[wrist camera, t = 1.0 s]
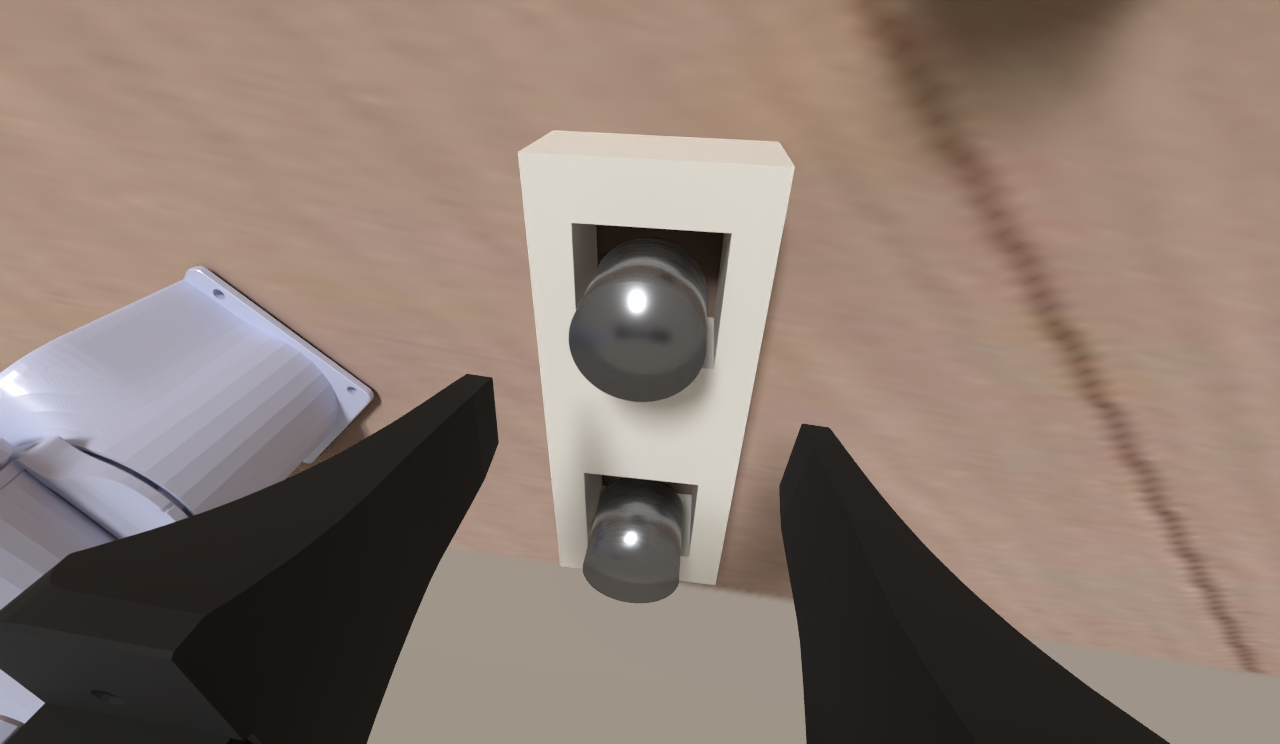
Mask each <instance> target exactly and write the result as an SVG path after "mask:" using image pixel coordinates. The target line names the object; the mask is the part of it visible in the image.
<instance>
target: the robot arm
mask: <svg viewBox="0 0 1280 744" xmlns="http://www.w3.org/2000/svg"><path fill="white" fill-rule="evenodd" d="M354 388H355V389H356V390H355V389H354ZM373 398H374V393H373V392H372V390H371V389H370V388H369V387H367V386H366V385H364V384H363V383H362V382H360V381H359V380H358V379H356V378H355V377H354V376H352V375H351V374H349V373H348V372H347V371H345V370H344V369H343V368H341V367H340V366H339V365H337V364H336V363H335V362H333V361H332V360H330V359H329V358H328V357H326V356H325V355H324V354H322V353H321V352H320V351H318V350H317V349H315V348H314V347H313V346H311V345H310V344H309V343H307V342H306V341H305V340H303V339H302V338H300V337H299V336H298V335H296V334H295V333H294V332H292V331H291V330H290V329H288V328H287V327H286V326H284V325H283V324H281V323H280V322H279V321H277V320H276V319H275V318H273V317H272V316H271V315H269V314H268V313H266V312H265V311H264V310H262V309H261V308H260V307H258V306H257V305H256V304H254V303H253V302H252V301H250V300H249V299H247V298H246V297H245V296H243V295H242V294H241V293H239V292H238V291H237V290H235V289H234V288H232V287H231V286H230V285H228V284H227V283H226V282H224V281H223V280H222V279H220V278H219V277H217V276H216V275H215V274H213V273H212V272H211V271H209V270H208V269H206V268H204V267H202V266H195V267H193V268H190V269H189V270H188V271H187V273H186V275H185V277H184V279H183V280H181V281H178V282H176V283H174V284H172V285H170V286H168V287H166V288H163V289H161V290H159V291H157V292H155V293H153V294H150V295H148V296H146V297H144V298H142V299H140V300H138V301H135V302H133V303H131V304H129V305H127V306H125V307H122V308H120V309H118V310H116V311H114V312H112V313H110V314H107V315H105V316H103V317H101V318H99V319H97V320H95V321H92V322H90V323H88V324H86V325H84V326H82V327H79V328H77V329H75V330H73V331H71V332H69V333H67V334H64V335H62V336H60V337H58V338H56V339H54V340H52V341H50V342H48V343H46V344H44V345H43V346H41V347H39V348H37V349H36V350H34V351H32V352H30V353H29V354H27V355H26V356H24V357H23V358H21V359H19V360H18V361H16V362H15V363H14V364H12V365H11V366H9V367H8V368H6V369H5V370H4V371H2V372H1V373H0V744H367V741H368V738H369V735H370V732H371V729H372V727H373V724H374V721H375V718H376V715H377V713H378V710H379V707H380V705H381V702H382V699H383V696H384V694H385V691H386V688H387V686H388V683H389V680H390V678H391V675H392V672H393V670H394V667H395V664H396V662H397V660H398V657H399V654H400V652H401V650H402V647H403V644H404V642H405V640H406V637H407V634H408V632H409V630H410V627H411V625H412V622H413V620H414V617H415V615H416V612H417V610H418V608H419V606H420V603H421V601H422V599H423V596H424V594H425V592H426V589H427V587H428V585H429V582H430V580H431V578H432V576H433V574H434V572H435V570H436V568H437V566H438V563H439V562H440V559H441V558H442V556H443V554H444V553H445V551H446V549H447V547H448V545H449V544H450V542H451V540H452V538H453V536H454V534H455V533H456V531H457V529H458V527H459V525H460V524H461V522H462V520H463V518H464V516H465V515H466V513H467V511H468V509H469V507H470V505H471V504H472V502H473V500H474V498H475V496H476V494H477V492H478V491H479V489H480V487H481V485H482V483H483V481H484V479H485V477H486V474H487V472H488V469H489V467H490V464H491V462H492V459H493V456H494V454H495V451H496V448H497V446H498V443H499V442H498V432H497V421H496V411H495V400H494V390H493V379H492V378H491V377H484V376H478V375H471V374H466V375H465V376H463V377H461V378H460V379H458V380H457V381H455V382H454V383H452V384H451V385H449V386H448V387H446V388H445V389H443V390H442V391H440V392H439V393H437V394H436V395H434V396H433V397H431V398H430V399H428V400H427V401H425V402H424V403H422V404H421V405H419V406H418V407H416V408H414V409H413V410H411V411H410V412H408V413H407V414H405V415H404V416H402V417H401V418H399V419H398V420H396V421H394V422H393V423H391V424H389V425H388V426H386V427H384V428H383V429H381V430H379V431H377V432H376V433H374V434H372V435H371V436H369V437H367V438H366V439H364V440H362V441H361V442H359V443H357V444H355V445H354V446H352V447H350V448H348V449H346V450H345V451H343V452H341V453H339V454H337V455H335V456H333V457H331V458H329V459H327V460H325V461H323V462H321V463H319V464H317V465H315V466H313V467H311V468H309V469H307V470H305V471H303V472H301V473H299V474H296V475H294V476H292V477H290V478H287V477H288V476H289V475H290V474H291V473H292V472H293V471H294V470H295V469H296V468H297V467H298V465H299V464H300V463H301V462H304V463H312V462H313V461H314V460H315V459H316V458H317V457H318V456H319V455H320V454H321V453H322V452H323V451H324V450H325V448H326V447H327V446H328V445H329V444H330V443H331V442H332V441H333V440H334V439H335V438H336V437H337V436H338V435H339V434H340V433H341V432H342V431H343V430H344V429H345V428H346V427H347V426H348V425H349V424H350V422H351V421H352V420H353V419H354V418H355V417H356V416H357V415H358V414H359V413H360V412H361V411H362V410H363V409H364V408H365V407H366V406H367V405H368V404H369V403H370V402H371V401H372V399H373ZM286 478H287V479H286ZM779 488H780V515H781V529H782V536H783V542H784V548H785V553H786V559H787V565H788V571H789V576H790V582H791V588H792V593H793V599H794V605H795V611H796V616H797V622H798V630H799V637H800V647H801V660H802V672H803V686H804V704H805V720H806V721H805V722H806V740H807V744H1170V743H1169V742H1167V741H1165V740H1164V739H1163V738H1161V737H1160V736H1158V735H1157V734H1156V733H1154V732H1153V731H1151V730H1150V729H1149V728H1147V727H1145V726H1144V725H1143V724H1141V723H1140V722H1139V721H1137V720H1136V719H1134V718H1133V717H1131V716H1130V715H1129V714H1127V713H1126V712H1124V711H1123V710H1121V709H1120V708H1119V707H1117V706H1115V705H1114V704H1113V703H1111V702H1110V701H1109V700H1107V699H1105V698H1104V697H1103V696H1101V695H1100V694H1098V693H1097V692H1096V691H1094V690H1093V689H1091V688H1090V687H1089V686H1087V685H1086V684H1085V683H1083V682H1082V681H1081V680H1079V679H1078V678H1077V677H1075V676H1074V675H1073V674H1072V673H1070V672H1069V671H1068V670H1066V669H1065V668H1064V667H1062V666H1061V665H1060V664H1058V663H1057V662H1056V661H1055V660H1053V659H1051V657H1049V656H1048V655H1047V654H1045V653H1044V652H1043V651H1042V650H1040V649H1039V648H1038V647H1037V646H1035V645H1034V644H1033V643H1032V642H1030V641H1029V640H1028V639H1027V638H1026V637H1024V636H1023V635H1022V634H1021V633H1019V632H1018V631H1017V630H1016V629H1015V628H1013V627H1012V626H1011V625H1010V624H1009V623H1008V622H1006V621H1005V620H1004V619H1003V618H1002V617H1001V616H999V615H998V614H997V613H996V612H995V611H994V610H992V609H991V608H990V607H989V606H988V605H987V604H986V603H984V602H983V601H982V600H981V599H980V598H979V597H978V596H977V595H975V594H974V593H973V592H972V591H971V590H970V589H969V588H968V587H967V586H966V585H965V584H963V583H962V582H961V581H960V580H959V579H958V578H957V577H956V576H955V575H954V574H953V573H952V572H951V571H950V570H949V569H948V568H947V567H946V566H945V565H944V564H943V563H942V562H941V561H940V560H939V559H938V558H937V557H936V556H935V555H934V554H933V553H932V552H931V551H930V550H929V549H928V548H927V547H926V546H925V545H924V544H923V543H922V542H921V541H920V539H919V538H918V537H917V536H916V535H915V534H914V533H913V532H912V530H911V529H910V528H909V527H908V526H907V525H906V524H905V523H904V522H903V520H902V519H901V518H900V517H899V516H898V515H897V514H896V512H895V511H894V510H893V509H892V508H891V507H890V505H889V504H888V503H887V502H886V501H885V499H884V498H883V497H882V496H881V494H880V493H879V492H878V491H877V489H876V488H875V487H874V486H873V484H872V483H871V482H870V481H869V479H868V478H867V477H866V475H865V474H864V473H863V472H862V470H861V469H860V468H859V466H858V465H857V464H856V462H855V461H854V460H853V458H852V457H851V456H850V454H849V453H848V452H847V450H846V449H845V448H844V446H843V445H842V444H841V442H840V441H839V440H838V438H837V437H836V436H835V434H834V433H833V432H832V431H831V429H830V428H828V427H821V426H815V425H808V424H802V425H801V428H800V431H799V433H798V436H797V439H796V442H795V444H794V447H793V450H792V453H791V456H790V458H789V461H788V464H787V467H786V469H785V472H784V475H783V478H782V480H781V483H780V486H779Z"/></svg>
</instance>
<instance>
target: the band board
mask: <svg viewBox="0 0 1280 744" xmlns="http://www.w3.org/2000/svg"><path fill="white" fill-rule="evenodd" d="M518 158H519V168H520V178H521V187H522V197H523V207H524V217H525V226H526V236H527V246H528V256H529V265H530V275H531V285H532V295H533V304H534V314H535V324H536V333H537V343H538V353H539V363H540V372H541V382H542V392H543V402H544V411H545V421H546V431H547V441H548V450H549V460H550V470H551V480H552V489H553V499H554V509H555V519H556V528H557V538H558V548H559V557H560V566H564V567H572V568H580V569H583V563H584V559H585V555H586V551H587V546H588V542H589V538H590V534H591V530H592V526H593V522H594V518H595V514H596V509H597V505H598V501H599V497H600V494H601V492H602V491H603V489H604V488H605V487H606V486H607V485H602V475H609V476H618V477H628V478H637V479H646V480H656V481H665V482H674V483H684V484H693V489H692V495H690V494H680V493H677V495H678V496H679V498H680V499H681V501H682V504H683V522H682V539H681V555H680V572H679V581H685V582H694V583H702V584H710V585H716V580H717V574H718V569H719V564H720V559H721V553H722V548H723V543H724V538H725V532H726V527H727V522H728V516H729V511H730V506H731V501H732V495H733V490H734V485H735V480H736V474H737V469H738V464H739V459H740V453H741V448H742V443H743V438H744V432H745V427H746V422H747V416H748V411H749V406H750V401H751V395H752V390H753V385H754V380H755V374H756V369H757V364H758V359H759V353H760V348H761V343H762V338H763V332H764V327H765V322H766V316H767V311H768V306H769V301H770V295H771V290H772V285H773V280H774V274H775V269H776V264H777V259H778V253H779V248H780V243H781V238H782V232H783V227H784V222H785V216H786V211H787V206H788V201H789V195H790V190H791V185H792V180H793V174H794V169H795V166H794V165H793V163H792V161H791V160H790V158H789V157H788V155H787V153H786V152H785V150H784V149H783V147H782V145H781V144H780V142H776V141H756V140H736V139H716V138H696V137H676V136H656V135H636V134H615V133H595V132H575V131H555V130H553V131H552V132H550V133H548V134H547V135H545V136H543V137H542V138H540V139H538V140H537V141H535V142H534V143H532V144H530V145H529V146H527V147H525V148H524V149H522V150H520V151H519V152H518ZM597 225H611V226H626V227H642V228H657V229H672V230H688V231H703V232H718V233H724V237H723V246H722V254H721V262H720V270H719V278H718V286H717V294H716V302H715V310H714V318H713V317H707V343H706V356H705V361H704V364H703V366H702V369H701V370H700V372H699V374H698V375H697V377H696V378H695V379H694V381H693V382H692V383H691V384H690V385H689V386H688V387H686V388H685V389H684V390H682V391H681V392H679V393H677V394H676V395H673V396H671V397H669V398H666V399H662V400H658V401H652V402H633V401H627V400H623V399H619V398H616V397H613V396H611V395H609V394H607V393H605V392H603V391H601V390H600V389H598V388H596V387H595V386H594V385H593V384H591V383H590V382H589V381H588V380H587V379H586V378H585V377H584V376H583V375H582V373H581V372H580V371H579V369H578V368H577V366H576V364H575V362H574V360H573V358H572V355H571V352H570V347H569V329H570V324H571V321H572V318H573V316H574V314H575V312H576V310H577V308H578V306H579V304H580V302H581V300H582V298H583V296H584V294H585V292H586V290H587V288H588V286H589V284H590V282H591V279H592V277H593V275H594V273H595V271H596V269H597Z"/></svg>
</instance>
